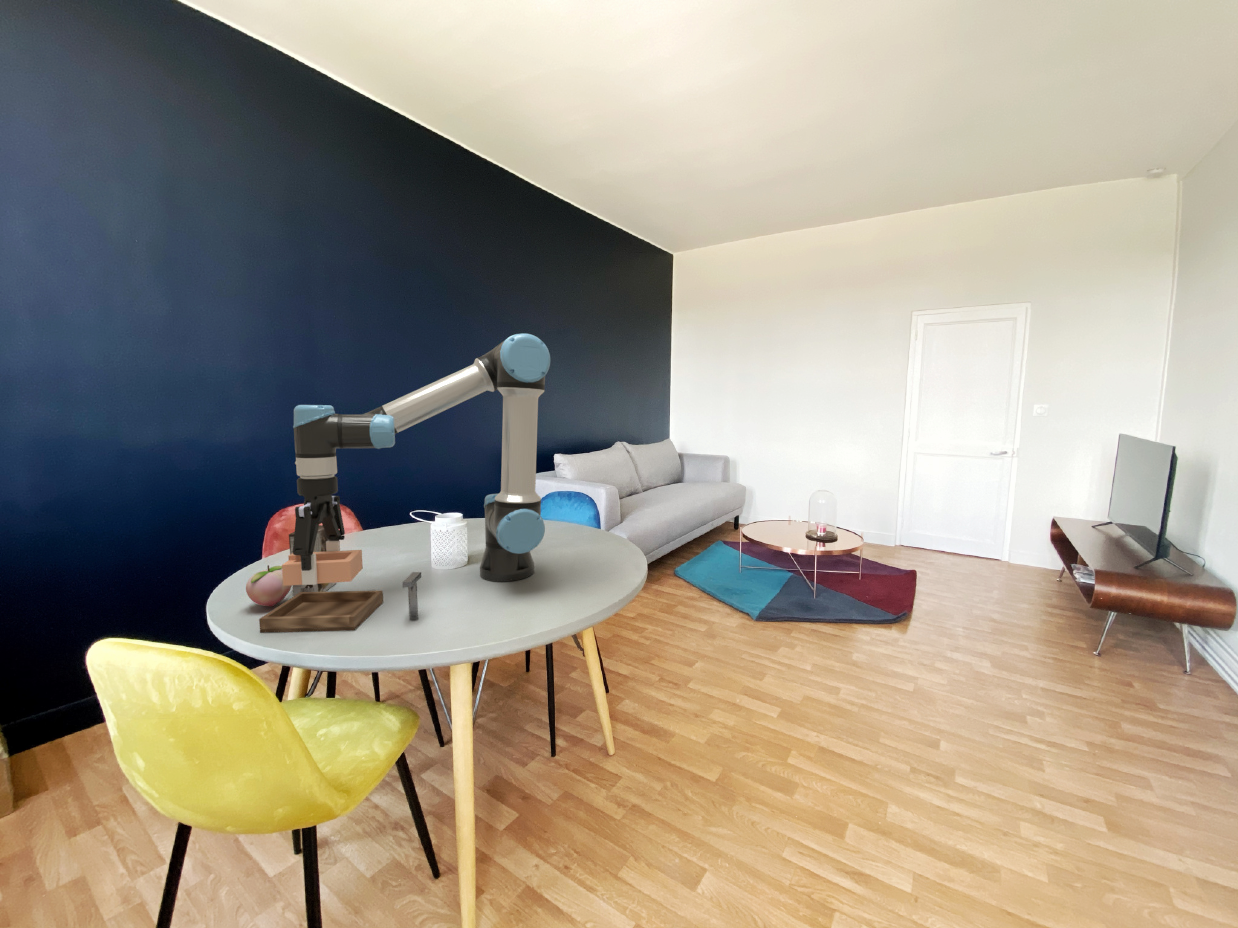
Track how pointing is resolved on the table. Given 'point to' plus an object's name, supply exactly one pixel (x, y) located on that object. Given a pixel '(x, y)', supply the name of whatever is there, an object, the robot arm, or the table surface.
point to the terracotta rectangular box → (325, 567)
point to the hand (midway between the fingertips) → (322, 575)
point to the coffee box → (319, 547)
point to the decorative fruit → (267, 587)
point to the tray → (322, 611)
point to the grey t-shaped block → (412, 594)
